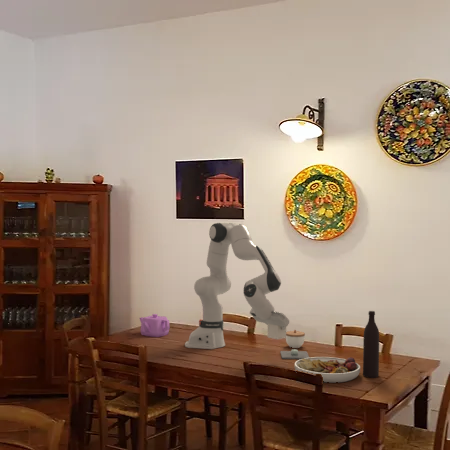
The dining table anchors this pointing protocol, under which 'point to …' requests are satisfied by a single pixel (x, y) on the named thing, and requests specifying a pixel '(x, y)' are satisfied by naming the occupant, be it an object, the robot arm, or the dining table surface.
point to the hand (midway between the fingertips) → (277, 327)
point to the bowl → (330, 368)
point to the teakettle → (154, 326)
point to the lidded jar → (295, 338)
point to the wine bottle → (371, 348)
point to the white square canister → (276, 332)
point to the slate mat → (288, 355)
